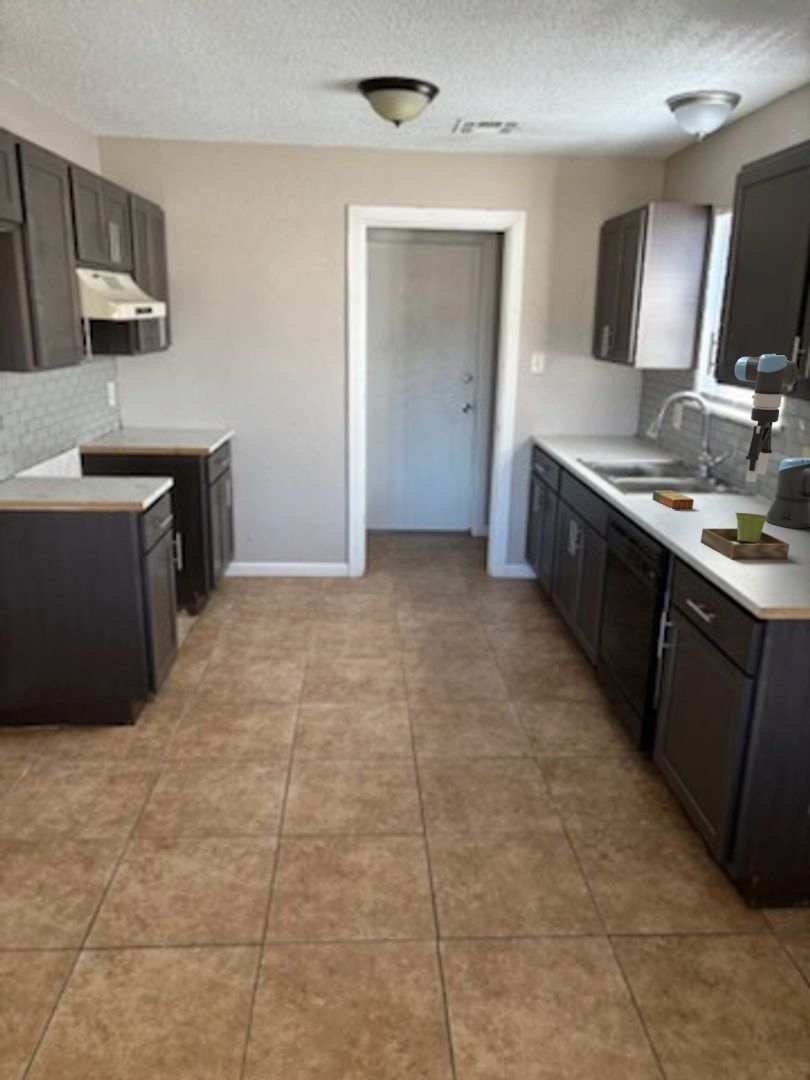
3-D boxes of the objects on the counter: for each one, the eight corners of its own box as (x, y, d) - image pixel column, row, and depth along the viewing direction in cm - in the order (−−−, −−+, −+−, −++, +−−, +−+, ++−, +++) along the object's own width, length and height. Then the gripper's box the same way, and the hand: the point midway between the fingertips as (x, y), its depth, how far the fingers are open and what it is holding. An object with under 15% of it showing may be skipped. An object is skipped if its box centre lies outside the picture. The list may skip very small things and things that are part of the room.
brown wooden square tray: (752, 541, 263) (755, 528, 262) (787, 558, 246) (789, 544, 244) (700, 542, 260) (702, 528, 258) (731, 559, 243) (733, 544, 241)
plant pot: (733, 540, 262) (736, 513, 262) (765, 544, 258) (769, 516, 257) (730, 539, 254) (733, 511, 253) (763, 543, 249) (767, 515, 249)
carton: (672, 510, 302) (673, 499, 301) (651, 500, 317) (652, 489, 316) (692, 510, 304) (694, 498, 303) (671, 500, 319) (672, 489, 318)
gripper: (761, 402, 257) (752, 469, 263) (742, 410, 238) (732, 482, 244) (787, 404, 253) (777, 472, 259) (770, 413, 233) (759, 486, 240)
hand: (755, 477), depth 252 cm, fingers open, 13 cm apart
